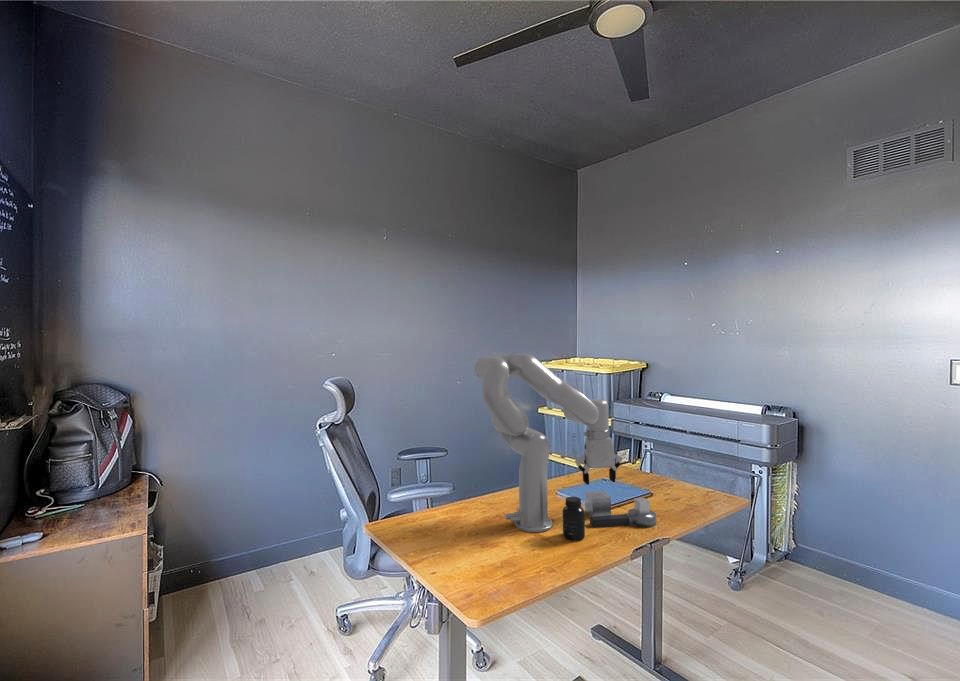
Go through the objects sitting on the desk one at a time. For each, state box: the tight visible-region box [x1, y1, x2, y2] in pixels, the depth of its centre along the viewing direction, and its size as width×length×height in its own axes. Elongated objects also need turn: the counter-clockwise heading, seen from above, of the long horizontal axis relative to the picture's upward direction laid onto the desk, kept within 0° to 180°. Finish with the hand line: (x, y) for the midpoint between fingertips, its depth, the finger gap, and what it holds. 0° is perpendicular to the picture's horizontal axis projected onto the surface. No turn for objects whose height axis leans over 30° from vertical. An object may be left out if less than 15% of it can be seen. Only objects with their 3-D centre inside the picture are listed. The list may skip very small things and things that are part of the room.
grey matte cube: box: [584, 490, 612, 518], centre depth 162 cm, size 7×7×7 cm
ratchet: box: [589, 497, 657, 528], centre depth 154 cm, size 22×9×8 cm, turn 99°
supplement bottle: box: [562, 496, 586, 542], centre depth 144 cm, size 7×7×12 cm
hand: (599, 482), depth 163 cm, fingers open, 9 cm apart
